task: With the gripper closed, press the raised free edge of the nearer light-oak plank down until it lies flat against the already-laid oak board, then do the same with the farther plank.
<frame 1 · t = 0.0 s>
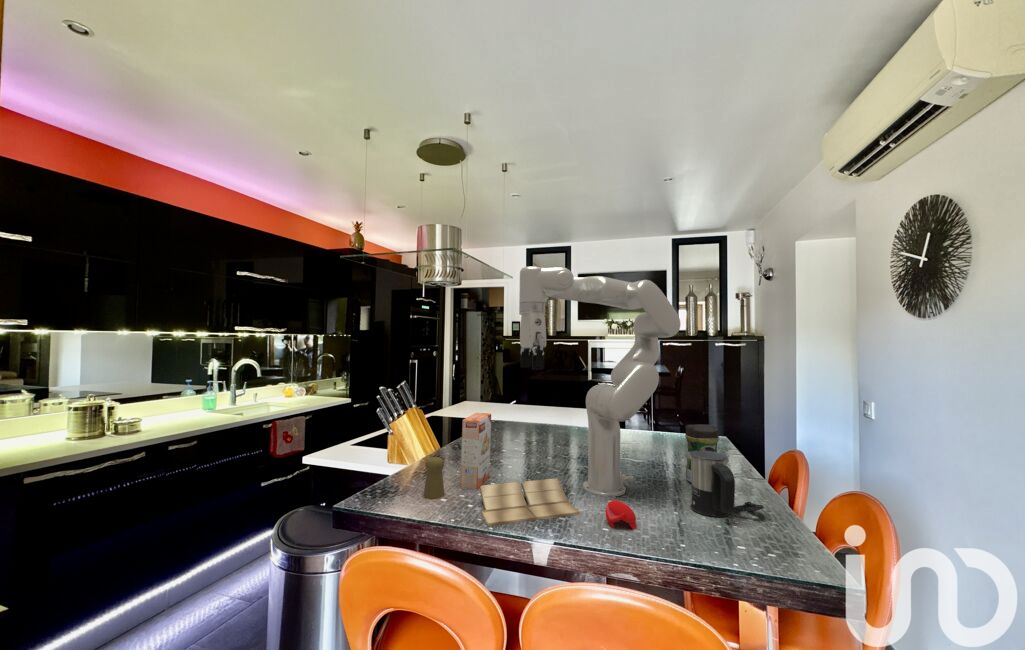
hand: (531, 368, 116), 37 cm above the table, tool pointing down, fingers open, 9 cm apart
cracker box: (476, 483, 126), on the table
cork: (433, 497, 114), on the table
milk frother: (725, 512, 107), on the table
plank 2: (544, 492, 112), point 3 cm above the table, hinge at 28.0°
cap: (620, 528, 97), on the table
coffee jar: (702, 483, 129), on the table
plank 1: (502, 496, 108), point 3 cm above the table, hinge at 28.0°
laid board: (530, 516, 102), on the table
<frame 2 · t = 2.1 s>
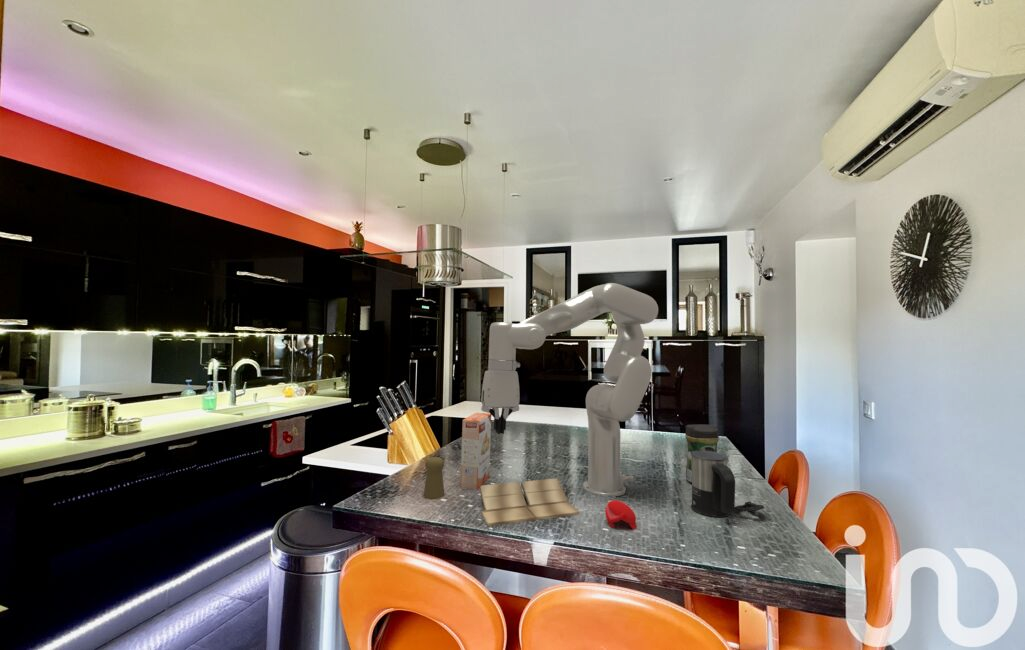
hand: (499, 432, 111), 19 cm above the table, tool pointing down, fingers closed
nothing on the table moved.
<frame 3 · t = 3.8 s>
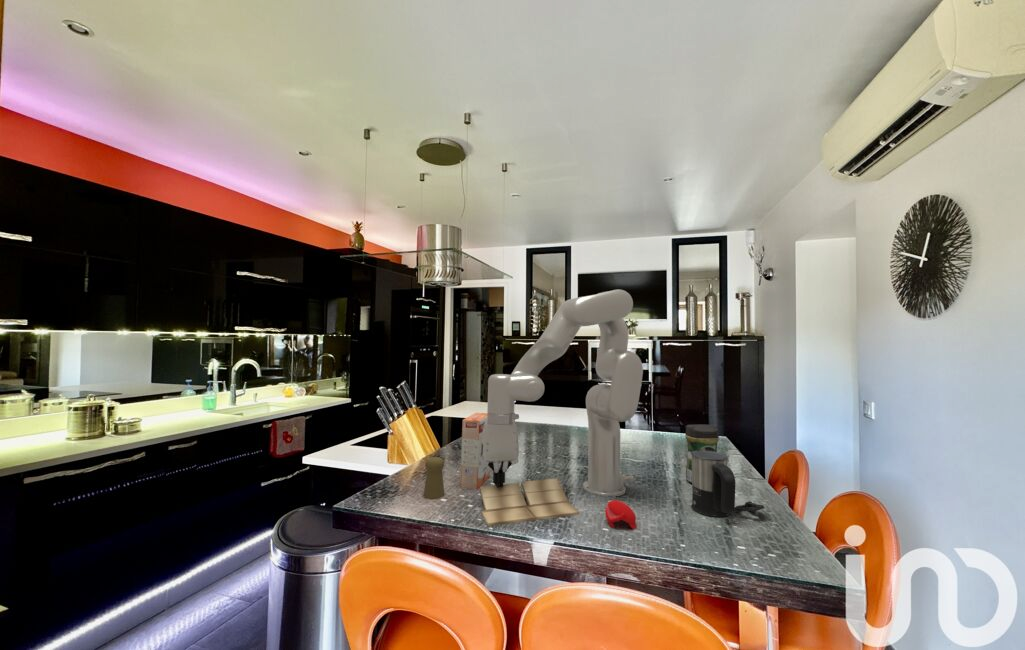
hand: (498, 485, 111), 5 cm above the table, tool pointing down, fingers closed
plank 1: (502, 497, 108), point 2 cm above the table, hinge at 25.2°, touching gripper
everything else where it was.
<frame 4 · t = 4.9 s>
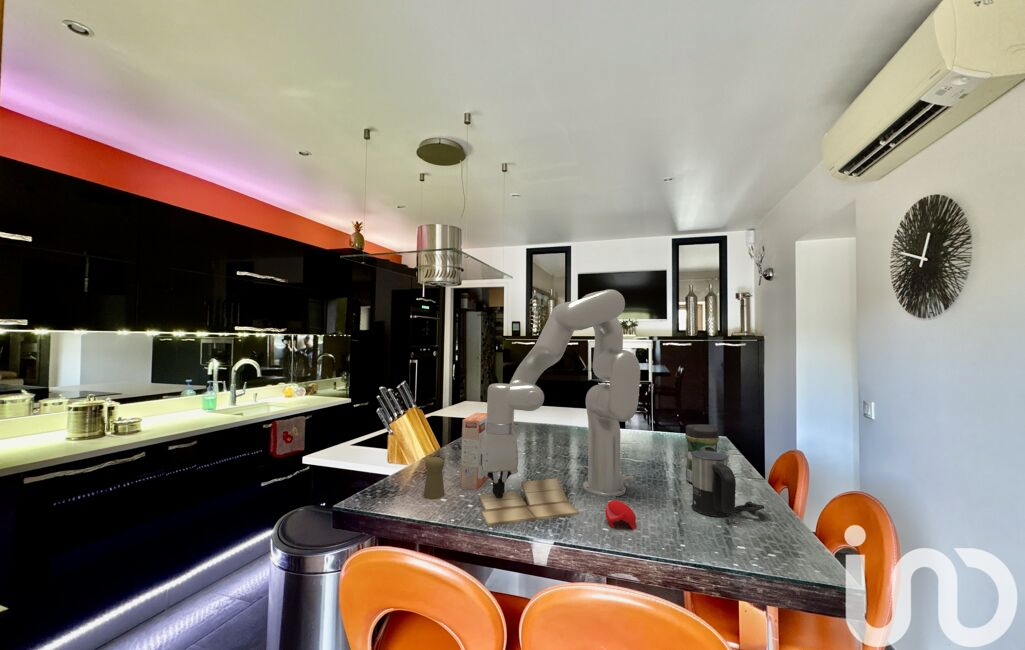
hand: (498, 495, 110), 2 cm above the table, tool pointing down, fingers closed
plank 1: (502, 501, 109), point 1 cm above the table, hinge at 5.1°
everything else where it was.
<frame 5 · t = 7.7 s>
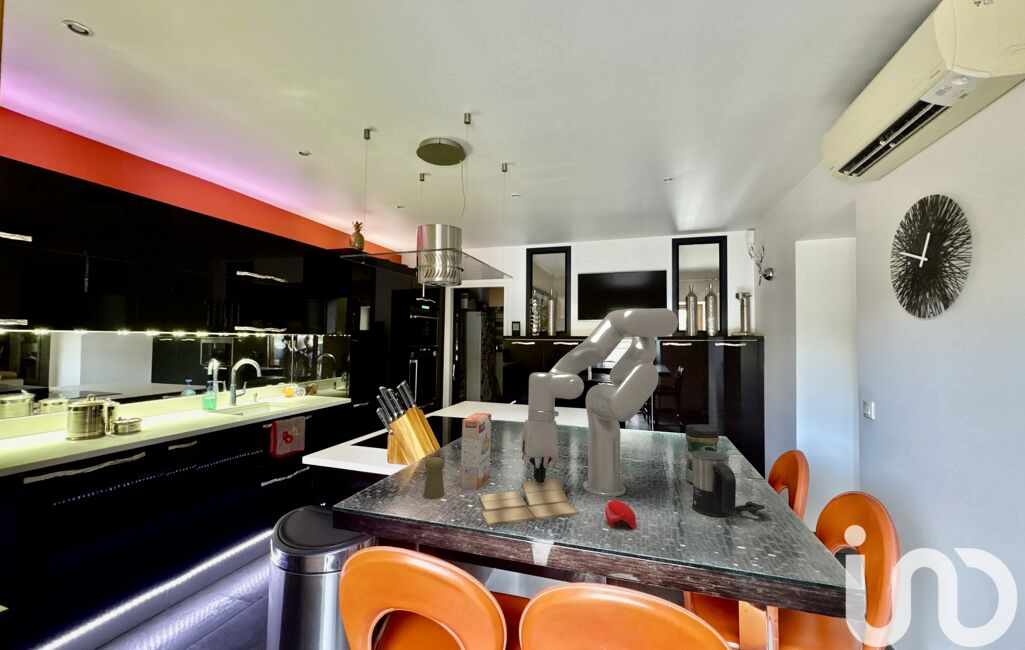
hand: (539, 480, 114), 5 cm above the table, tool pointing down, fingers closed
plank 2: (544, 492, 112), point 3 cm above the table, hinge at 28.0°, touching gripper
everything else where it was.
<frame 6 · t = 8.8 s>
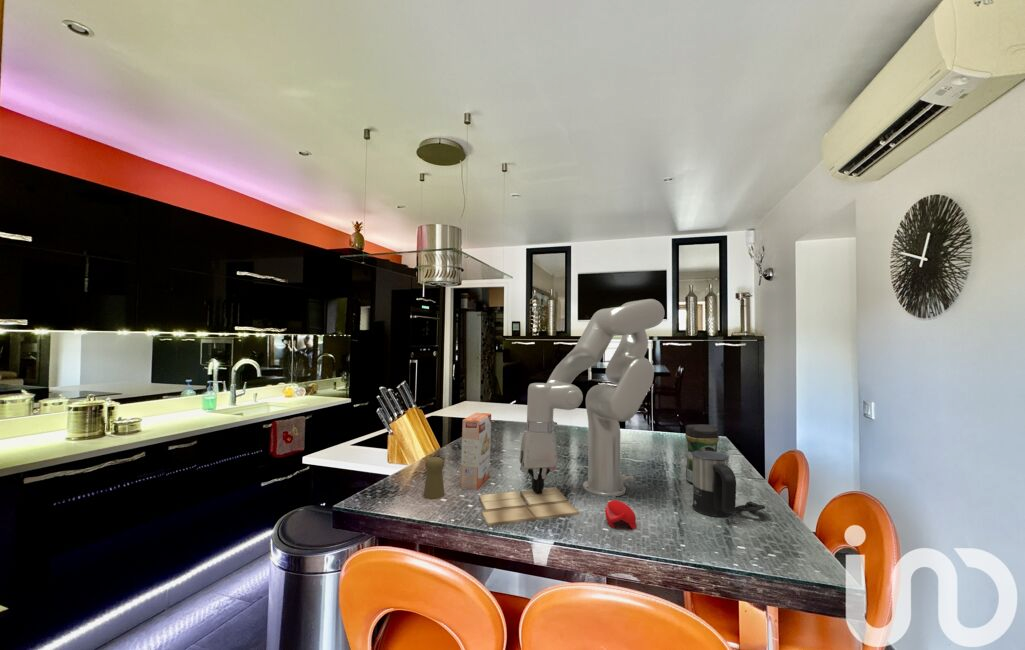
hand: (537, 491, 114), 2 cm above the table, tool pointing down, fingers closed
plank 2: (543, 497, 112), point 1 cm above the table, hinge at 5.7°, touching gripper
everything else where it was.
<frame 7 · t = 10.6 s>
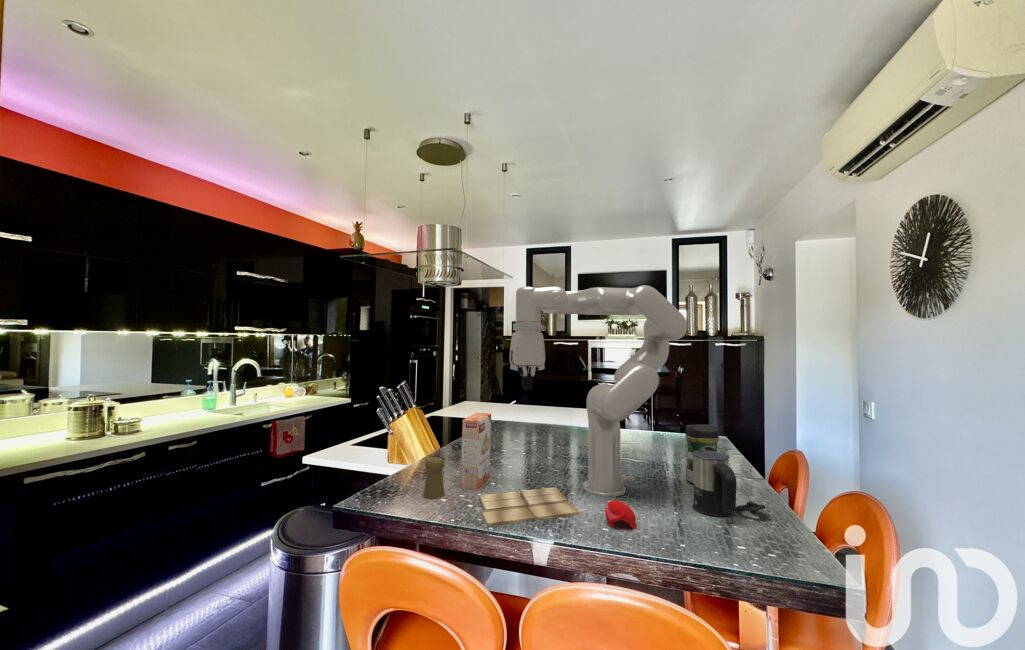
hand: (527, 389, 120), 30 cm above the table, tool pointing down, fingers closed
plank 2: (543, 497, 112), point 1 cm above the table, hinge at 5.3°
everything else where it was.
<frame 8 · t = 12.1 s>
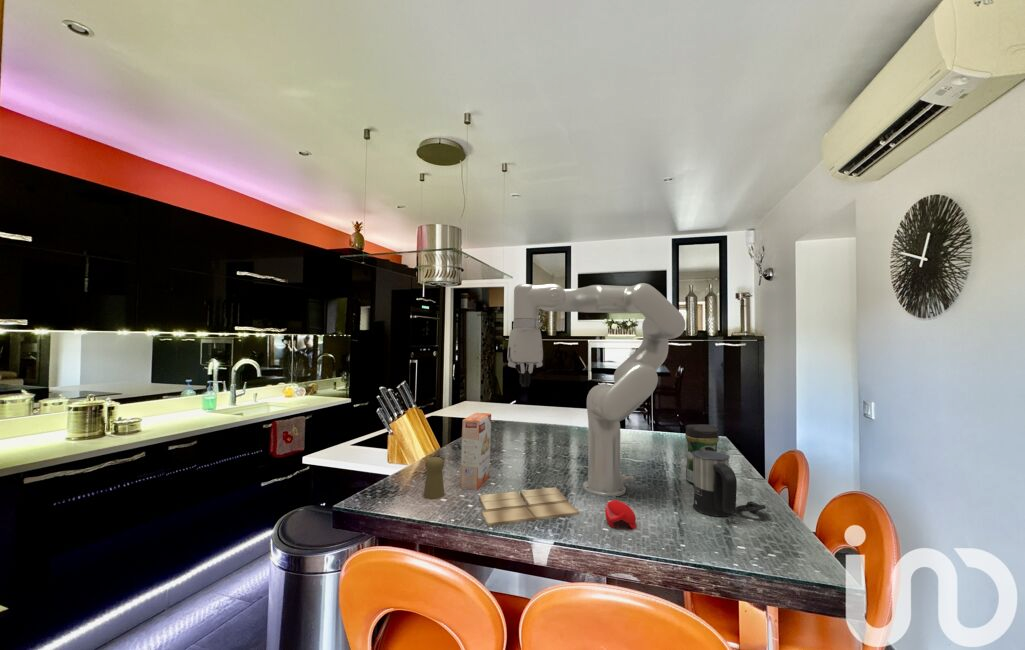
hand: (525, 386, 120), 31 cm above the table, tool pointing down, fingers closed
nothing on the table moved.
at the end: plank 1 at +5° (first picture: +28°); plank 2 at +5° (first picture: +28°); plank 2 touching nothing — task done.
